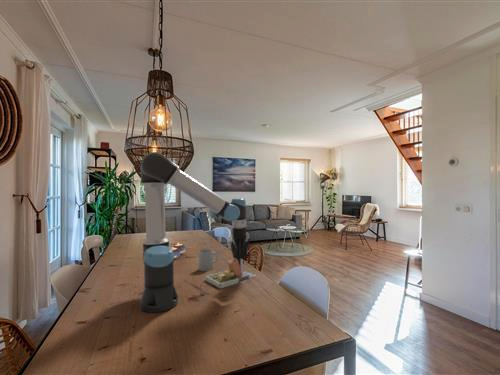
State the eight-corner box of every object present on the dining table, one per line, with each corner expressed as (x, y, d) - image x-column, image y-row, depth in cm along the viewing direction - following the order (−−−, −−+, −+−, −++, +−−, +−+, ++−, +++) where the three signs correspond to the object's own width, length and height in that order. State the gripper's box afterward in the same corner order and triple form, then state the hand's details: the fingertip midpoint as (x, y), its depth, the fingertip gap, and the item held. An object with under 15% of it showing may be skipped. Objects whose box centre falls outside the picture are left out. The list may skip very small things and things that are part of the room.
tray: (220, 290, 120) (220, 283, 120) (205, 282, 131) (205, 276, 131) (238, 285, 127) (238, 278, 127) (223, 277, 138) (223, 271, 138)
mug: (202, 272, 147) (201, 253, 147) (196, 268, 154) (196, 250, 154) (220, 268, 153) (220, 250, 153) (214, 265, 160) (214, 247, 160)
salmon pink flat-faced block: (237, 278, 132) (231, 264, 130) (232, 276, 136) (227, 262, 134) (242, 274, 135) (237, 259, 133) (238, 272, 138) (233, 258, 136)
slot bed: (236, 283, 128) (236, 278, 128) (225, 278, 136) (225, 273, 136) (256, 277, 137) (256, 272, 137) (245, 272, 145) (245, 268, 145)
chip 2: (228, 281, 129) (228, 273, 129) (223, 279, 132) (223, 271, 132) (234, 279, 132) (234, 271, 132) (230, 277, 135) (229, 269, 135)
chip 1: (221, 284, 126) (221, 276, 126) (217, 282, 130) (217, 274, 130) (228, 282, 129) (228, 274, 129) (223, 280, 132) (223, 272, 132)
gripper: (233, 229, 129) (235, 275, 129) (252, 226, 137) (254, 269, 138) (225, 227, 135) (226, 271, 135) (244, 224, 143) (245, 266, 143)
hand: (240, 270), depth 136 cm, fingers closed
